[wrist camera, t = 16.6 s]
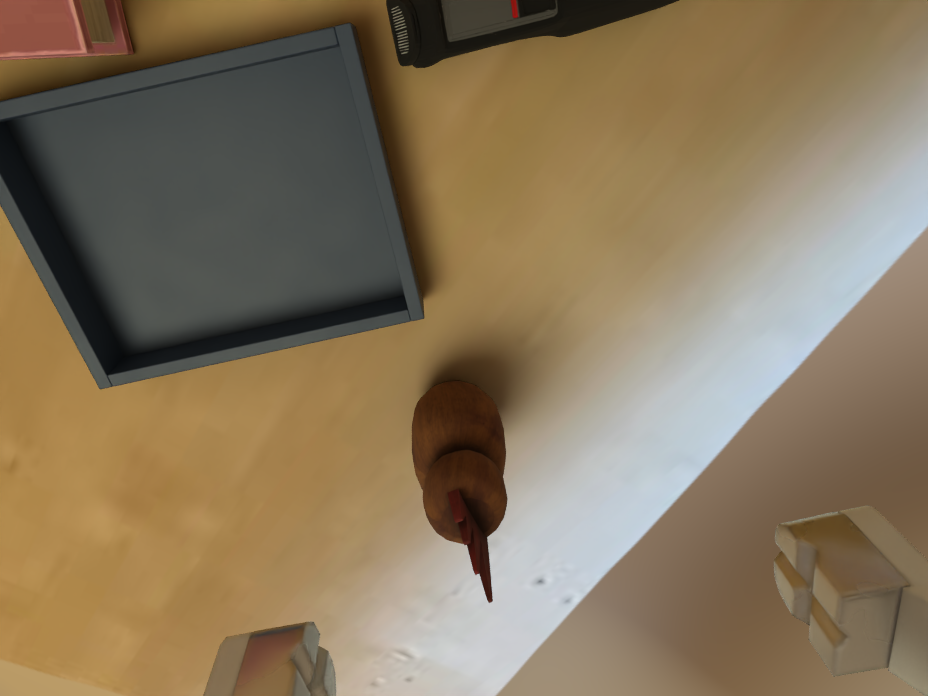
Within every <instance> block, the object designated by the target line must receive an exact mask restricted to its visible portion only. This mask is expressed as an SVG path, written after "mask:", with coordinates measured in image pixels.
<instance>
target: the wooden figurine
mask: <svg viewBox="0 0 928 696" xmlns="http://www.w3.org/2000/svg"><path fill="white" fill-rule="evenodd" d="M412 454H413V462H414V467H415V473H416V476H417V478H418V481H419V483H420V485H421V488H422V489H423V504H424V509H425V512H426V516H427V518H428V520H429V522H430V524H431V526H432V527H433V528H434V530H435V531H436V532H437V533H438V534H439V535H441V536H442V537H444V538H445V539H447V540H449V541H453V542H457V543H461V544H464V545H467V547H468V551H469V555H470V559H471V562H472V566H473V570H474V573H475V575H476V574H480V577H481V580H482V584H483V587H484V590H485V594H486V597H487V600H488V602H489V603H490V602H492V601H493V599H492V587H491V575H490V563H489V552H488V542H487V537H488V536H489V535H490V534H492V533H493V532H494V531H495V530H496V529H497V528H498V527H499V525H500V523H501V521H502V520H503V518H504V515H505V511H506V506H507V494H506V489H505V484H504V480H503V474H504V467H505V459H506V448H505V438H504V429H503V425H502V421H501V418H500V415H499V412H498V409H497V406H496V404H495V403H494V401H493V400H492V399H491V398H490V397H489V396H488V395H487V394H486V393H485V392H483V391H482V390H481V389H480V388H478V387H477V386H476V385H473V384H469V383H466V382H463V381H448V382H444V383H441V384H438V385H436V386H434V387H432V388H431V389H430V390H429V391H428V392H427V393H426V394H425V395H424V396H423V397H421V399H420V400H419V401H418V403H417V405H416V408H415V411H414V417H413V423H412Z"/></svg>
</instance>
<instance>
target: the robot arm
mask: <svg viewBox="0 0 928 696" xmlns="http://www.w3.org/2000/svg"><path fill="white" fill-rule="evenodd" d="M775 542H776V543H777V545H778V546H779V547H780V549H781V550H782V551H781V552H780V553H779V555H778V556H777V557H776V558H775V559H774V575H775V579H776V582H777V586H778V590H779V592H780V594H781V596H782V598H783V600H784V602H785V604H786V606H787V607H788V608H789V610H790V612H791V613H792V615H793V616H794V617H796V618H797V619H799V620H801V621H803V622H804V623H806V624H808V625H810V630H809V641H810V642H811V644H812V645H813V647H814V648H815V650H816V651H817V653H818V654H819V656H820V657H821V659H822V660H823V661H824V663H825V664H826V666H827V667H828V669H829V670H830V672H831V673H832V675H833V676H834V677H835V676H840V675H846V674H852V673H858V672H864V671H870V670H876V669H881V668H888V667H889V668H888V671H890V672H891V673H893V674H894V675H895V676H897V677H899V678H900V679H901V680H903V681H904V682H906V683H907V684H909V685H910V686H912V687H913V688H915V689H916V690H918V691H919V692H920V693H922V694H923V695H925V696H928V560H927V559H926V558H925V557H924V556H923V555H922V554H921V553H920V552H919V551H918V550H917V549H916V548H915V547H914V546H913V545H912V544H911V543H910V542H909V541H908V540H907V539H906V538H905V537H904V536H903V535H902V534H901V533H900V532H899V531H898V530H897V529H896V528H895V527H894V526H893V525H892V524H891V523H890V522H889V521H888V520H887V519H886V518H884V517H883V515H882V514H881V513H879V512H878V510H876V509H875V508H873V507H871V506H869V505H867V506H862V507H858V508H853V509H848V510H843V511H839V512H837V513H836V512H832V513H828V514H823V515H819V516H814V517H809V518H805V519H800V520H796V521H791V522H787V523H782V524H779V525H778V527H777V528H776V531H775ZM319 638H320V633H319V631H318V629H317V627H316V625H315V624H314V622H304V623H299V624H293V625H287V626H282V627H276V628H271V629H265V630H259V631H254V632H250V633H245V634H239V635H234V636H229V637H226V638H225V640H224V641H223V642H222V644H221V645H220V647H219V649H218V652H217V655H216V658H215V662H214V665H213V668H212V671H211V674H210V677H209V680H208V683H207V686H206V689H205V692H204V695H203V696H336V677H335V670H334V666H333V662H332V659H331V657H330V654H329V652H328V651H327V650H325V649H324V648H322V647H320V646H318V644H319Z"/></svg>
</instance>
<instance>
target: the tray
mask: <svg viewBox="0 0 928 696" xmlns="http://www.w3.org/2000/svg"><path fill="white" fill-rule="evenodd" d="M0 205H1V207H2V209H3V211H4V213H5V214H6V216H7V218H8V220H9V222H10V224H11V226H12V227H13V229H14V231H15V233H16V235H17V237H18V239H19V240H20V242H21V244H22V246H23V248H24V250H25V251H26V253H27V255H28V257H29V259H30V261H31V263H32V264H33V266H34V268H35V270H36V272H37V274H38V276H39V277H40V279H41V281H42V283H43V285H44V287H45V289H46V290H47V292H48V294H49V296H50V298H51V300H52V302H53V303H54V305H55V307H56V309H57V311H58V313H59V315H60V316H61V318H62V320H63V322H64V324H65V326H66V327H67V329H68V331H69V333H70V335H71V337H72V339H73V340H74V342H75V344H76V346H77V348H78V350H79V352H80V353H81V355H82V357H83V359H84V361H85V363H86V365H87V366H88V368H89V370H90V372H91V374H92V376H93V378H94V379H95V381H96V383H97V385H98V387H99V389H104V388H109V387H112V386H118V385H122V384H127V383H131V382H136V381H141V380H145V379H150V378H154V377H159V376H163V375H168V374H173V373H177V372H182V371H186V370H191V369H195V368H200V367H205V366H209V365H214V364H218V363H223V362H227V361H232V360H237V359H241V358H246V357H250V356H255V355H259V354H264V353H269V352H273V351H278V350H282V349H287V348H291V347H296V346H301V345H305V344H310V343H314V342H319V341H323V340H328V339H333V338H337V337H342V336H346V335H351V334H355V333H360V332H365V331H369V330H374V329H378V328H383V327H387V326H392V325H397V324H401V323H406V322H410V321H415V320H420V319H424V306H423V298H422V293H421V289H420V285H419V281H418V277H417V273H416V269H415V265H414V261H413V257H412V253H411V249H410V245H409V241H408V237H407V233H406V229H405V225H404V221H403V217H402V212H401V208H400V204H399V200H398V196H397V192H396V188H395V184H394V180H393V176H392V172H391V168H390V164H389V160H388V156H387V152H386V148H385V144H384V140H383V136H382V132H381V127H380V123H379V119H378V115H377V111H376V107H375V103H374V99H373V95H372V91H371V87H370V83H369V79H368V75H367V71H366V67H365V63H364V59H363V55H362V51H361V46H360V42H359V38H358V34H357V30H356V27H355V26H354V25H353V24H351V23H346V24H342V25H337V26H335V27H328V28H324V29H319V30H315V31H311V32H306V33H302V34H297V35H293V36H288V37H284V38H279V39H275V40H270V41H266V42H261V43H257V44H252V45H248V46H244V47H239V48H235V49H230V50H226V51H221V52H217V53H212V54H208V55H203V56H199V57H194V58H190V59H186V60H181V61H177V62H172V63H168V64H163V65H159V66H154V67H150V68H145V69H141V70H136V71H132V72H128V73H123V74H119V75H114V76H110V77H105V78H101V79H96V80H92V81H87V82H83V83H78V84H74V85H70V86H65V87H61V88H56V89H52V90H47V91H43V92H38V93H34V94H29V95H25V96H20V97H16V98H11V99H7V100H3V101H0Z"/></svg>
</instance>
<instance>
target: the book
mask: <svg viewBox="0 0 928 696" xmlns="http://www.w3.org/2000/svg"><path fill="white" fill-rule="evenodd" d="M131 54H134V53H133V49H132V45H131V41H130V37H129V33H128V29H127V25H126V21H125V17H124V12H123V8H122V4H121V0H0V60H17V59H40V58H62V57H85V56H108V55H131Z"/></svg>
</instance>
